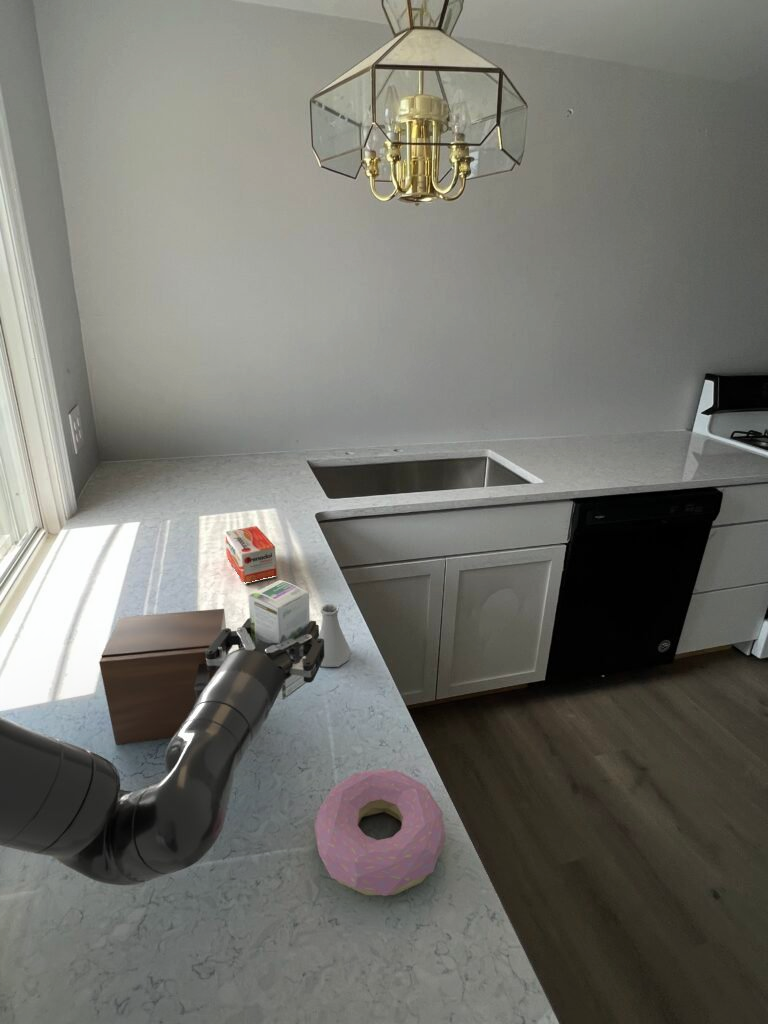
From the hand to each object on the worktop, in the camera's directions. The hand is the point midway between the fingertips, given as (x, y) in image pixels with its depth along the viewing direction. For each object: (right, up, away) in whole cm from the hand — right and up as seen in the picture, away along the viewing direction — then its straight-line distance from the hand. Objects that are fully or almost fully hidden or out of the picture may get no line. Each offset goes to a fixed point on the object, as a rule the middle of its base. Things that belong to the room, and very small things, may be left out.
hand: (285, 623), depth 77 cm
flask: (+4, -11, +24) cm, 27 cm away
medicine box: (-18, +2, +56) cm, 59 cm away
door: (-17, -19, +2) cm, 25 cm away
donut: (+13, -24, -10) cm, 30 cm away
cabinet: (-19, -16, +11) cm, 27 cm away
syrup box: (0, -9, +1) cm, 9 cm away
